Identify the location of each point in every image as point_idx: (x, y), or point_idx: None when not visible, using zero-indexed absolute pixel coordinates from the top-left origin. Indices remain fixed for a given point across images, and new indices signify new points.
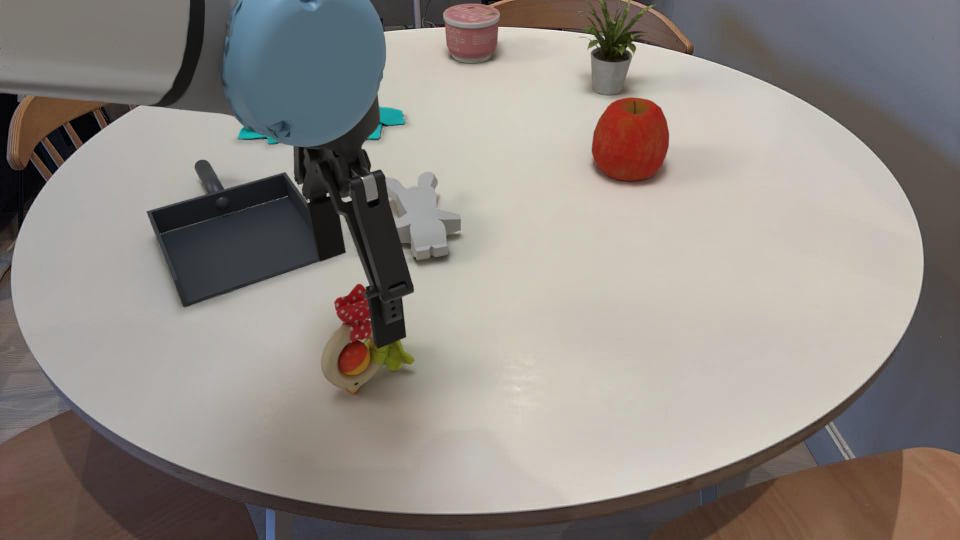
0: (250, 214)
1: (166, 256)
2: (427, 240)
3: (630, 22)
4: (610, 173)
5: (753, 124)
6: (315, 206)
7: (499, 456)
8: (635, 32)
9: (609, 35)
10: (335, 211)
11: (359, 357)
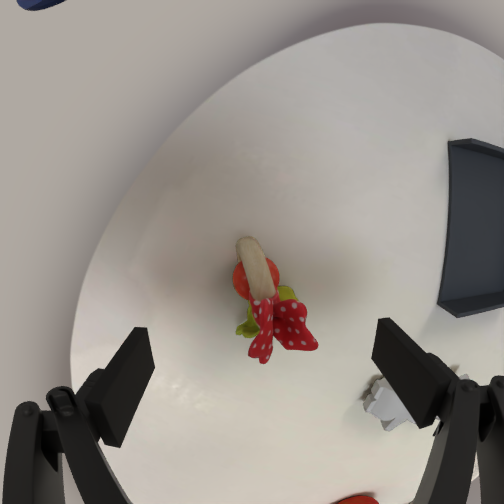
0: None
1: (499, 148)
2: (382, 400)
3: None
4: (348, 501)
5: None
6: (433, 392)
7: (114, 339)
8: None
9: None
10: (409, 406)
11: (236, 287)
